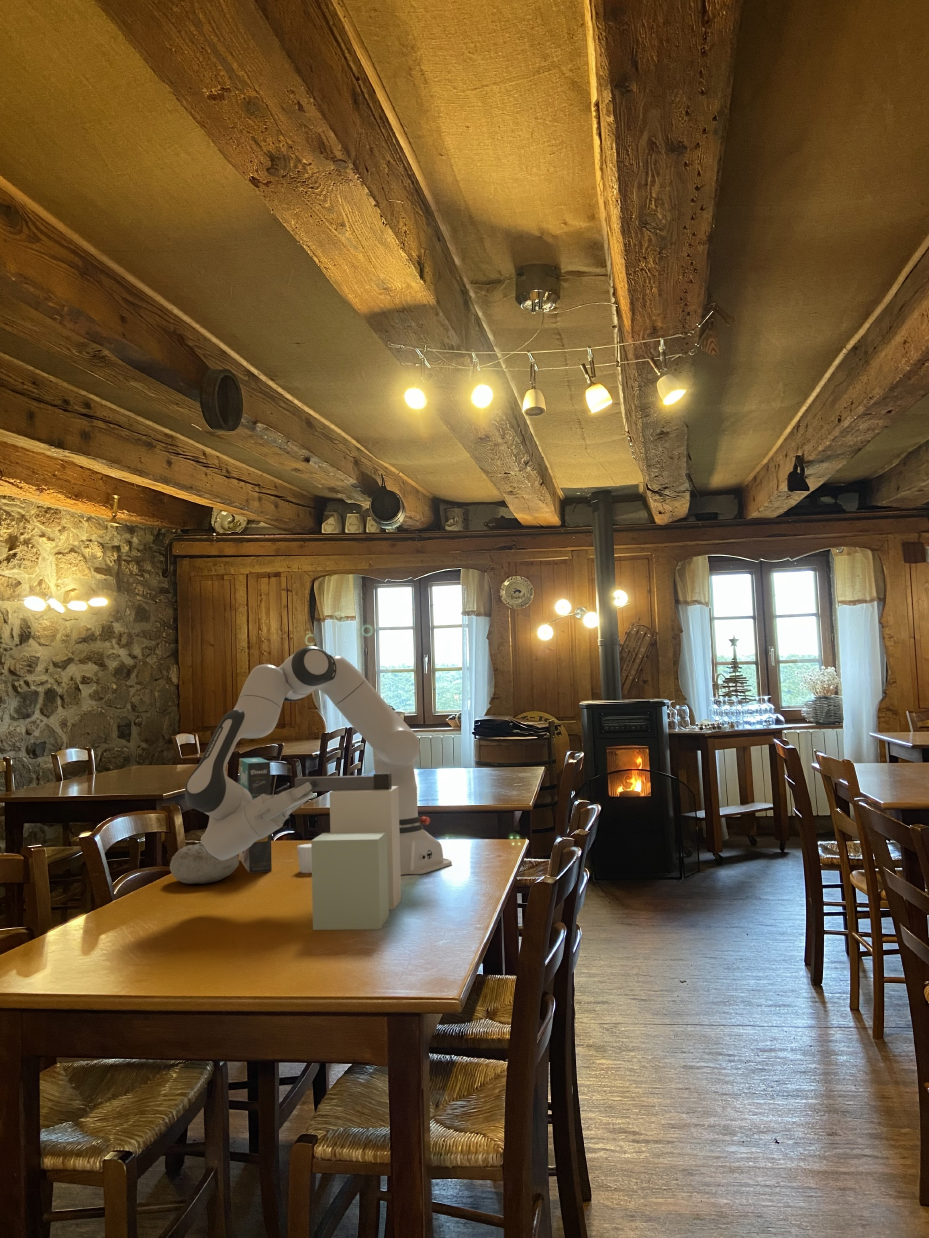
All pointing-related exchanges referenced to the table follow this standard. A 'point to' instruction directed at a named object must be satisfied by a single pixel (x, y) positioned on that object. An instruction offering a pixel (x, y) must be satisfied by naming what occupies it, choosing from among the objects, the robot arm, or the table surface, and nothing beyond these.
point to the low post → (350, 881)
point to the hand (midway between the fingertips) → (316, 782)
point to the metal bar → (347, 782)
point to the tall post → (371, 825)
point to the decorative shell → (200, 865)
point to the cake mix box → (257, 783)
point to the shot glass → (305, 858)
